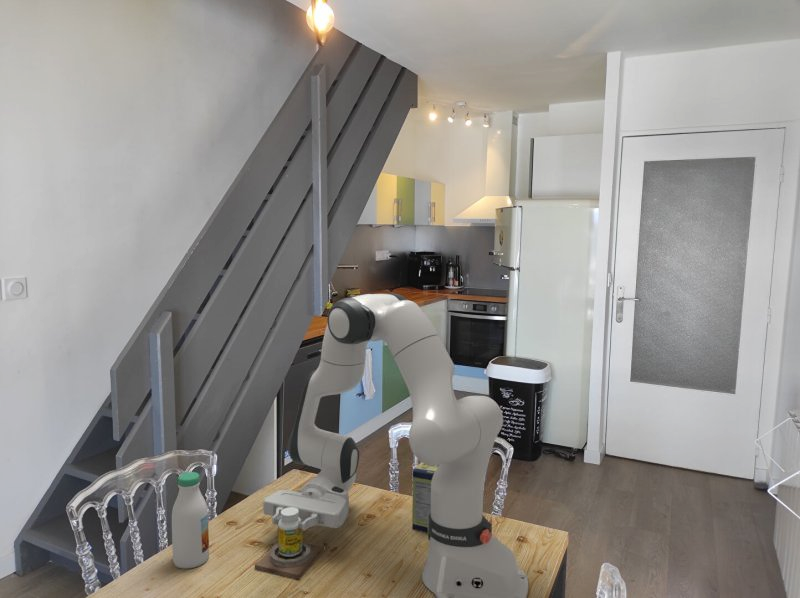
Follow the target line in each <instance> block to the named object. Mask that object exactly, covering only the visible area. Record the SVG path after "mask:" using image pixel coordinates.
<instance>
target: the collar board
mask: <svg viewBox="0 0 800 598" xmlns="http://www.w3.org/2000/svg"><path fill="white" fill-rule="evenodd" d="M324 552H325V546H321V545H316V544H312V543H308V542H306V541H303V540H302V551H301V552H300V553H299V554H298V555H296V556H293V557H285V556H282V555H281V554H280V553H279V544H278V543H276V544H275V545H274V546H272V548H270V550H269V551H268V552H267V553H266V554H265V555H264V556H263V557H261V558H260V559H259V560H258V561H257V562H256V563H255V564H254V570H257V571H261V572H266V573H270V574H273V575H277V576H282V577H287V578H291V579H296V580H300V579H301V577H303V575H305V573H306V572H307V571H308V570H309V569H310V567H311V566H312V565H313V564H315V562H316V561H317V560H318V559H319V558H320V557H321V556H322V554H323V553H324ZM299 578H300V579H299Z"/></svg>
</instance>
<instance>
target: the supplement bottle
mask: <svg viewBox="0 0 800 598" xmlns="http://www.w3.org/2000/svg"><path fill="white" fill-rule="evenodd" d="M299 521H301V519H300V518H299V510H298V509H297V508H294V507H288V508H285V509H283V510H282V511H281V519H280V520H279V522H278V525H277V534H278V535H277V537H278V538H277V539H278V540H277V541H278V542H277V544H279V553H280V554H281V555H282V556H285V557H293V556H296V555H298V554H299V553H300V552H301V551H302V541H303V530H301V529H298V527H299V525H298V523H299Z"/></svg>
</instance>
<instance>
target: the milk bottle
mask: <svg viewBox="0 0 800 598" xmlns="http://www.w3.org/2000/svg"><path fill="white" fill-rule="evenodd" d="M200 480H201V479H200V474H199V473H198V472H195V471H187V472H184V473H181V474H179V475H178V477H177V487H178V493H177V497H176V499H175V502H174V504H173V506H172V511H171V542H172V544H171V545H172V560H173V561H172V562H173V564H174V566H175V567H176V568H179V569H183V570H184V569H186V570H187V569H194V568H197V567H199V566H201V565H204V564H205V563H206V562H207V561H208V560H209V556H210V543H209V542H210V540H209V514H208V513H209V511H208V506H207V502H206V500H205V498H204V496H203V495H202V493H201V490H200V485H201V484H200Z"/></svg>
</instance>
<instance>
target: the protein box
mask: <svg viewBox="0 0 800 598" xmlns="http://www.w3.org/2000/svg"><path fill="white" fill-rule="evenodd" d="M438 466H439V465H433V466H432V465H427V464H424V463H422V462H421V461H420V463H419V464H418V465H416V467H415V468H414V469H413V470H412V507H411V508H412V511H411V512H412V513H411V514H412V518H411V519H412V520H411V523H412V526H411V528H412V530H416V531H419V532H425V533H428V518H429V514H430V513H431V481H432V477H433V475H434V473H435V471H436V470H437V468H438Z"/></svg>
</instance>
